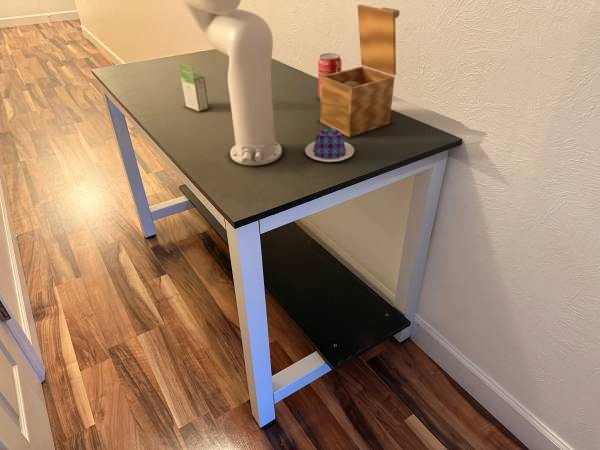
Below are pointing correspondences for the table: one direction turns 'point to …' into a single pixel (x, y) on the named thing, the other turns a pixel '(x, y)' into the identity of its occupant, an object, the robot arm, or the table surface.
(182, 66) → the ink box
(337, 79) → the wooden bin
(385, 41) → the bin lid
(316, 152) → the pudding
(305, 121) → the table surface
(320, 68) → the soda can
